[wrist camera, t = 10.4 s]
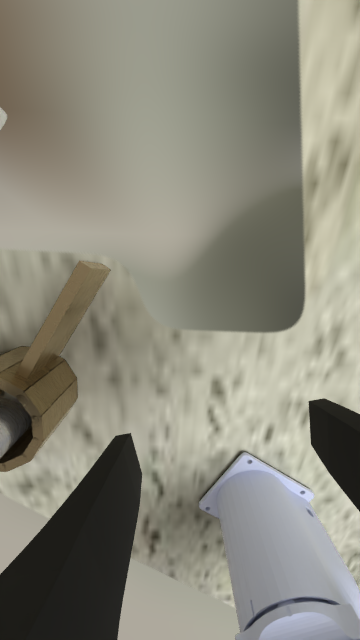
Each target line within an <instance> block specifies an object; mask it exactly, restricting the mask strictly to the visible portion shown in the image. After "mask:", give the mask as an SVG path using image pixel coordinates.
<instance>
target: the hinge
mask: <svg viewBox="0 0 360 640" xmlns="http://www.w3.org/2000/svg"><path fill="white" fill-rule="evenodd" d="M109 272H110V269H109V268H107V267H106V266H104V265H103V264H99V263H92V262H85V261H79V262H78V264H77V266H76V268H75V269H74V271H73V273H72V275H71V276H70V278H69V280H68V282H67V283H66V285H65V287H64V289H63V290H62V292H61V294H60V296H59V298H58V299H57V301H56V303H55V305H54V306H53V308H52V310H51V312H50V313H49V315H48V317H47V319H46V320H45V322H44V324H43V326H42V327H41V329H40V331H39V333H38V335H37V336H36V338H35V340H34V342H33V343H32V345H31V347H24V346H21V347H18V348H16V349H14V350H12V351H9V352H7V353H5V354H3V355H1V356H0V394H1V393H2V390H3V391H5V392H7V393H9V394H10V395H12V396H14V397H16V398H17V399H18V400H19V401H20V403H21V404H22V405H23V407H24V408H25V410H26V411H27V412H28V414H29V415H30V416H31V420H32V425H31V426H30V427H29V428H28V429H27V430H26V432H25V433H24V434H23V435H22V436H21V437H20V438H19V439H18V440H17V441H16V442H15V443H14V444H13V445H12V446H11V447H10V449H9V450H8V451H7V452H6V453H5V454H4V455H3V456H2V457H1V458H0V471H1V472H6V471H10V470H12V469H14V468H16V467H19V466H21V465H23V464H25V463H28V462H30V461H31V460H32V459H33V458H34V456H35V455H36V454H37V452H38V451H39V450H40V449H41V447H42V446H43V445H44V443H45V442H46V441H47V439H48V438H49V437H50V436H51V434H52V433H53V432H54V430H55V429H56V428H57V426H58V425H59V424H60V423H61V421H62V420H63V419H64V417H65V416H66V415H67V414H68V412H69V410H70V409H71V407H72V406H73V404H74V403H75V401H76V400H77V398H78V394H77V379H76V378H77V377H76V376H75V374H74V373H73V371H72V370H71V368H70V367H69V365H68V364H67V362H66V361H65V360H64V359H63V358H61V357H59V355H60V353H61V352H62V350H63V348H64V347H65V345H66V343H67V342H68V340H69V338H70V337H71V335H72V333H73V332H74V330H75V328H76V327H77V325H78V324H79V322H80V320H81V319H82V317H83V315H84V314H85V312H86V310H87V309H88V307H89V305H90V304H91V302H92V300H93V299H94V297H95V295H96V294H97V292H98V290H99V289H100V287H101V285H102V284H103V282H104V280H105V279H106V277H107V275H108V274H109Z"/></svg>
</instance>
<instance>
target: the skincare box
mask: <svg viewBox="0 0 360 640" xmlns="http://www.w3.org/2000/svg"><path fill="white" fill-rule="evenodd" d="M6 120H7V114H6V113H5V112H4V110H3V109H2V108H0V131H1V129H2V127H3V125H4V124H5V122H6Z"/></svg>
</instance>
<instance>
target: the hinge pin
mask: <svg viewBox="0 0 360 640" xmlns="http://www.w3.org/2000/svg"><path fill="white" fill-rule="evenodd" d="M31 425H32V420H31V416H30V415H29V414H28V412H27V411H26V410H25V408H24V407H23V405H22V404H21V403H20V401H19V400H18V399H17V398H16V397H14V396H12V395H10V394H9V393H7V392H5V391H4V392H3V393H1V394H0V458H1V457H2V456H3V455H4V454H5V453H6V452H7V451H8V450H9V449H10V447H11V446H12V445H13V444H14V443H15V442H16V441H17V440H18V439H19V438H20V437H21V436H22V435H23V434H24V433H25V432H26V430H27V429H28V428H29V427H30V426H31Z"/></svg>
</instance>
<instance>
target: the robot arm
mask: <svg viewBox="0 0 360 640" xmlns="http://www.w3.org/2000/svg"><path fill="white" fill-rule="evenodd" d="M309 415H310V433H311V445H312V447H313V448H314V450H315V451H316V453H317V455H318V456H319V458H320V459H321V461H322V462H323V464H324V465H325V467H326V468H327V470H328V472H329V473H330V474H331V476H332V477H333V478H334V480H335V481H336V482H337V483H338V485H339V486H340V487H341V489H342V490H343V491H344V492H345V494H346V495H347V496H348V497H349V499H350V500H351V501H352V502H353V504H354V505H355V506H356V508H357V509H358V510H359V511H360V414H358V413H356V412H354V411H351V410H349V409H347V408H345V407H343V406H341V405H338V404H336V403H334V402H331V401H329V400H327V399H319V400H313V401H309ZM248 460H249V461H248ZM141 482H142V472H141V468H140V465H139V461H138V458H137V454H136V450H135V447H134V443H133V440H132V436H131V433H129V434H123V435H118V436H115V438H114V439H113V440H112V441H111V443H110V444H109V445H108V447H107V448H106V449H105V451H104V452H103V453H102V455H101V456H100V457H99V459H98V460H97V461H96V463H95V464H94V465H93V467H92V468H91V469H90V471H89V472H88V473H87V474H86V476H85V477H84V478H83V480H82V481H81V482H80V483H79V485H78V486H77V487H76V489H75V490H74V491H73V492H72V493H71V495H70V496H69V497H68V498H67V500H66V501H65V502H64V503H63V504H62V506H61V507H60V508H59V509H58V510H57V512H56V513H55V514H54V515H53V516H52V518H51V519H50V520H49V521H48V522H47V524H46V525H45V526H44V527H43V528H42V529H41V531H40V532H39V533H38V534H37V535H36V536H35V537H34V538H33V540H32V541H31V542H30V543H29V544H28V545H27V546H26V547H25V548H24V550H23V551H22V552H21V553H20V554H19V555H18V556H17V557H16V558H15V559H14V560H13V561H12V562H11V564H10V565H9V566H8V567H7V568H6V569H5V570H4V571H3V572H2V573H1V574H0V640H117V636H118V628H119V620H120V614H121V607H122V601H123V595H124V590H125V584H126V578H127V573H128V567H129V562H130V557H131V551H132V546H133V540H134V534H135V529H136V523H137V517H138V512H139V506H140V495H141ZM313 498H314V494H313V492H312V491H311V490H310V489H308V488H306V487H305V486H303V485H301V484H300V483H298V482H296V481H295V480H293V479H291V478H289V477H288V476H286V475H284V474H283V473H281V472H279V471H278V470H276V469H274V468H272V467H271V466H269V465H267V464H266V463H264V462H262V461H260V460H259V459H257V458H255V457H254V456H252V455H250V454H249V453H246V452H244V453H242V454H241V455H240V456H239V457H238V458H237V459H236V460H235V461H234V463H233V464H232V465H231V466H230V467H229V468H228V469H227V471H226V472H225V473H224V474H223V475H222V476H221V477H220V479H219V480H218V481H217V482H216V483H215V484H214V485H213V487H212V488H211V489H210V490H209V491H208V492H207V493H206V495H205V496H204V497H203V498H202V499H201V500H200V502H199V508H200V509H201V510H203V511H205V512H207V513H209V514H211V515H213V516H215V517H217V518H218V519H220V524H221V530H222V535H223V541H224V546H225V552H226V557H227V563H228V568H229V574H230V579H231V584H232V590H233V595H234V601H235V606H236V612H237V617H238V622H239V628H240V633H239V634H236V635H235V639H236V640H360V591H359V589H358V586H357V584H356V582H355V580H354V578H353V576H352V574H351V572H350V571H349V569H348V567H347V566H346V564H345V562H344V560H343V559H342V557H341V555H340V554H339V552H338V550H337V549H336V547H335V545H334V543H333V542H332V540H331V538H330V537H329V535H328V533H327V532H326V530H325V528H324V527H323V525H322V523H321V521H320V520H319V518H318V516H317V515H316V513H315V511H314V510H313V508H312V506H311V505H310V503H309V502H310V501H311V500H312V499H313Z"/></svg>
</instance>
